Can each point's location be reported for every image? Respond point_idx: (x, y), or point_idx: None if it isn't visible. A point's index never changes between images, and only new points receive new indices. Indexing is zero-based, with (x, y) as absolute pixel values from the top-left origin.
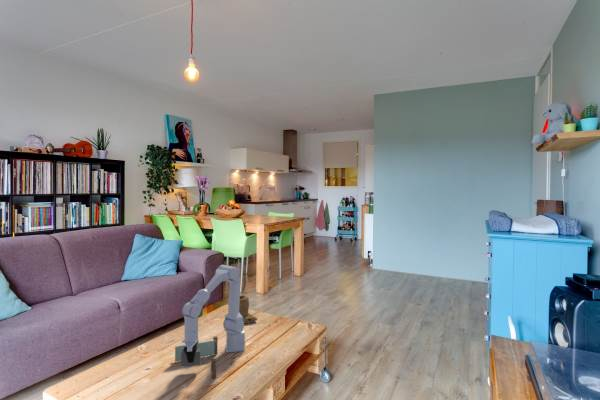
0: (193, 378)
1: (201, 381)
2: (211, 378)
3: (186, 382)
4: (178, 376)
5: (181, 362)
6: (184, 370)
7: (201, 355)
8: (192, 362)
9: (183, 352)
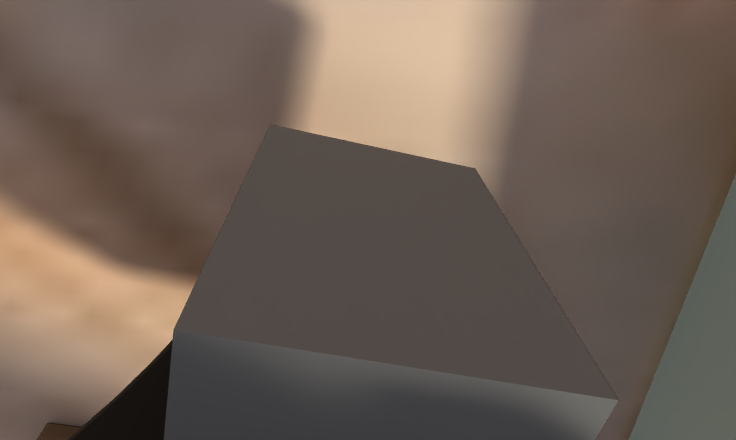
0: (126, 247)
1: (21, 328)
2: (39, 437)
3: (29, 143)
4: (259, 34)
5: (250, 173)
6: (417, 150)
7: (656, 418)
8: None
9: (265, 424)
